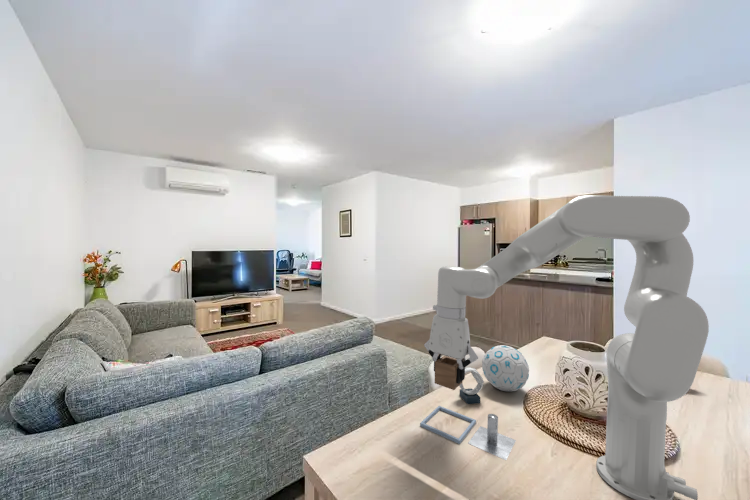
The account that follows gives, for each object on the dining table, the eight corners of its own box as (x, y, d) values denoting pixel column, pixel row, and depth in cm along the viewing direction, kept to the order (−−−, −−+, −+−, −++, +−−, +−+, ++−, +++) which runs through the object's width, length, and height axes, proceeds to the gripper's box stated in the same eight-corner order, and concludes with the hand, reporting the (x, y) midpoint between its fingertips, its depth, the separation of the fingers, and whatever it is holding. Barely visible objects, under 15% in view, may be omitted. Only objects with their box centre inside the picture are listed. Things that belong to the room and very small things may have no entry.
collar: (454, 390, 77) (454, 367, 77) (434, 383, 80) (435, 361, 80) (462, 382, 81) (463, 360, 81) (443, 376, 85) (444, 355, 85)
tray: (475, 427, 82) (476, 420, 82) (459, 448, 73) (459, 440, 73) (438, 412, 89) (439, 405, 89) (420, 430, 80) (420, 422, 80)
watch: (485, 406, 93) (486, 371, 92) (461, 408, 91) (462, 373, 91) (477, 397, 98) (478, 364, 98) (454, 398, 97) (454, 365, 97)
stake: (515, 444, 75) (516, 415, 75) (506, 465, 68) (507, 432, 68) (480, 430, 81) (481, 402, 80) (467, 447, 74) (468, 417, 73)
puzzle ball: (475, 378, 112) (476, 339, 111) (514, 378, 112) (515, 339, 112) (492, 400, 96) (493, 354, 96) (537, 400, 97) (539, 354, 97)
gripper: (416, 309, 83) (414, 373, 83) (477, 321, 72) (474, 394, 73) (429, 305, 89) (427, 365, 89) (487, 315, 78) (485, 383, 78)
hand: (448, 377), depth 81 cm, fingers closed on collar, 5 cm apart
